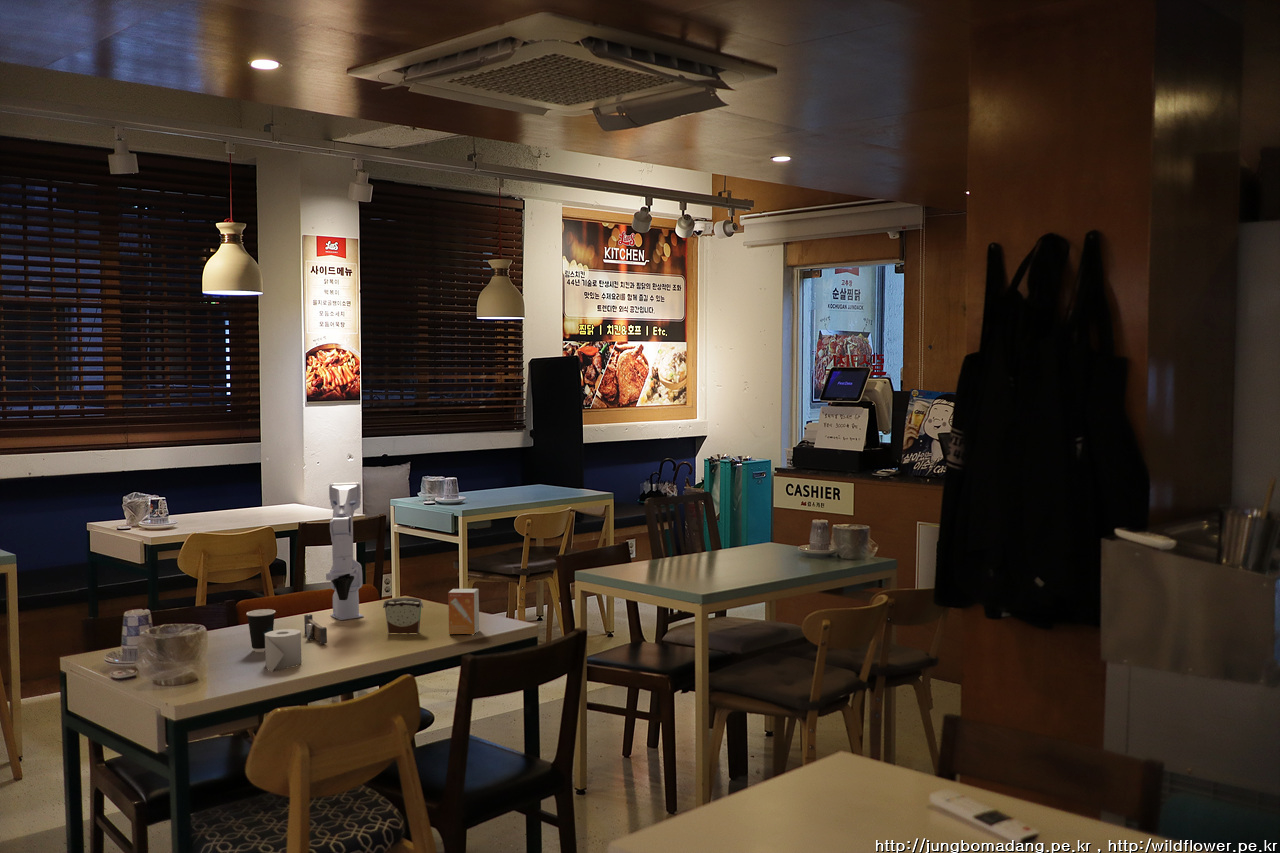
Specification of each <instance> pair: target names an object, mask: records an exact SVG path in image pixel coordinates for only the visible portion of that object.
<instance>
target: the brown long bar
mask: <svg viewBox="0 0 1280 853" xmlns="http://www.w3.org/2000/svg"><path fill="white" fill-rule="evenodd" d="M308 624H313V627H314V640H316V641H317V642H319V644H321V645H326V644H328V632H327V627H326V626H324V627H323V626H321V624H319V623H317V622H316V621H315V620H312V619H309V620H308Z"/></svg>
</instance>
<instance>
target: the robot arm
mask: <svg viewBox="0 0 1280 853" xmlns="http://www.w3.org/2000/svg"><path fill="white" fill-rule="evenodd" d="M328 490H329V491H328V495H329V496H328V497H329V501H330V502H329V503H330V506H331V509H333V510H332V518H331V519H330V521H329V533H330V538H331V539H330V541H331V543H332V544H331V547H332V548H331V550H332V551H331V553H332V555H331V556H332V565H331V568H330V570H329V572H328V573H326V574H325V580H326V581H330V588H331V589H332V590H334V592H333V594H332V613H330V615H329V616H330V617H332V618H333V619H337V620H339V621H344V620H350V619H359V618H364V615H363V614H362V613H360V598H359V589H361V588H362V587H363V569H362V568H363V567H362V564H361V563H360V562H358V560H356V559H354V520H353V519H354V513H355V511H356V510H358V509H359V508H360V506H361V502H362V501H361V499H362V498H361V497H362V496H361V495H362V492H361V491H362V490H361V482H359V481H356V482H330V483H329V486H328Z"/></svg>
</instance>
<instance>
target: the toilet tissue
mask: <svg viewBox="0 0 1280 853" xmlns="http://www.w3.org/2000/svg"><path fill="white" fill-rule="evenodd" d="M264 653H265V658H264V659H265V667H266V670H267V669H269V670H271V671H270V672H273V671H274V670H275V669H274V668H282V669H288V668H287V667H290V668H293V667H292V666H295V667H297V666H296V665H298V664H300V663H302V660H303V659H302V633H301V630H300V629H293V628H288V629H287V628H284V629H283V628H282V629H275V630H273V631H270V632H267V633H265V652H264ZM300 665H301V664H300ZM298 666H299V665H298ZM269 670H268V671H269Z"/></svg>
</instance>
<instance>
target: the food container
mask: <svg viewBox="0 0 1280 853" xmlns="http://www.w3.org/2000/svg"><path fill="white" fill-rule="evenodd" d="M423 608H424V603H423V602H422V599H420V598H416V597H395V598H389V599H387V600H385V601H384V602H383V606H382V609H384V611H385V612H384V613H385V619H386V628H387V634H388V633H419V634H420V626H421V615H422V614H421V612H422V609H423Z"/></svg>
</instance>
